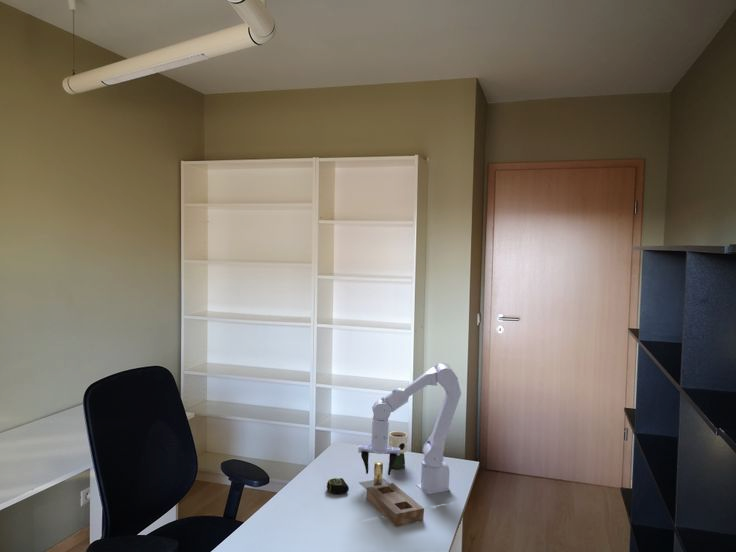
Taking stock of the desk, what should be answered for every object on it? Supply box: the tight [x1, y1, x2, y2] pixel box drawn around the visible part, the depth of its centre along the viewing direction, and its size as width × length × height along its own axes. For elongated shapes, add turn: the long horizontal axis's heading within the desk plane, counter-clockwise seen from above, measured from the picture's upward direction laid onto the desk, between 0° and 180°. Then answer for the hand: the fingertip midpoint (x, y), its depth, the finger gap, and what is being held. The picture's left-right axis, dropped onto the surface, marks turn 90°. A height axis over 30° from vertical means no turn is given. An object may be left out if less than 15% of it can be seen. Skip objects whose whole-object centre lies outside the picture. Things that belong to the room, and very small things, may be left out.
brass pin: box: [373, 461, 384, 486], centre depth 203 cm, size 3×3×8 cm
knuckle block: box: [365, 482, 425, 528], centre depth 187 cm, size 10×20×4 cm, turn 27°
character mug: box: [388, 430, 408, 470], centre depth 221 cm, size 11×7×13 cm, turn 144°
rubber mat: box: [358, 477, 390, 491], centre depth 203 cm, size 10×10×1 cm
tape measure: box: [326, 477, 350, 495], centre depth 198 cm, size 7×7×4 cm
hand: (378, 473), depth 203 cm, fingers open, 7 cm apart
